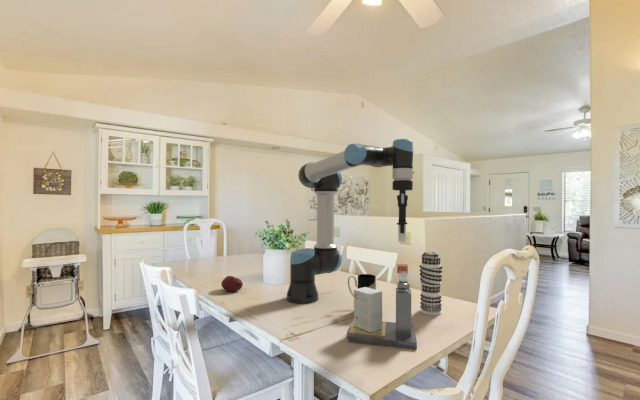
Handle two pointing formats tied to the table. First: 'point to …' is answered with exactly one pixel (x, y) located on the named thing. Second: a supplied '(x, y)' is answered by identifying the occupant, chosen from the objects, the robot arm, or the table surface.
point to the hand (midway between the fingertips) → (401, 241)
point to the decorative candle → (430, 283)
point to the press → (390, 327)
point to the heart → (231, 284)
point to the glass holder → (364, 281)
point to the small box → (368, 309)
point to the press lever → (402, 277)
